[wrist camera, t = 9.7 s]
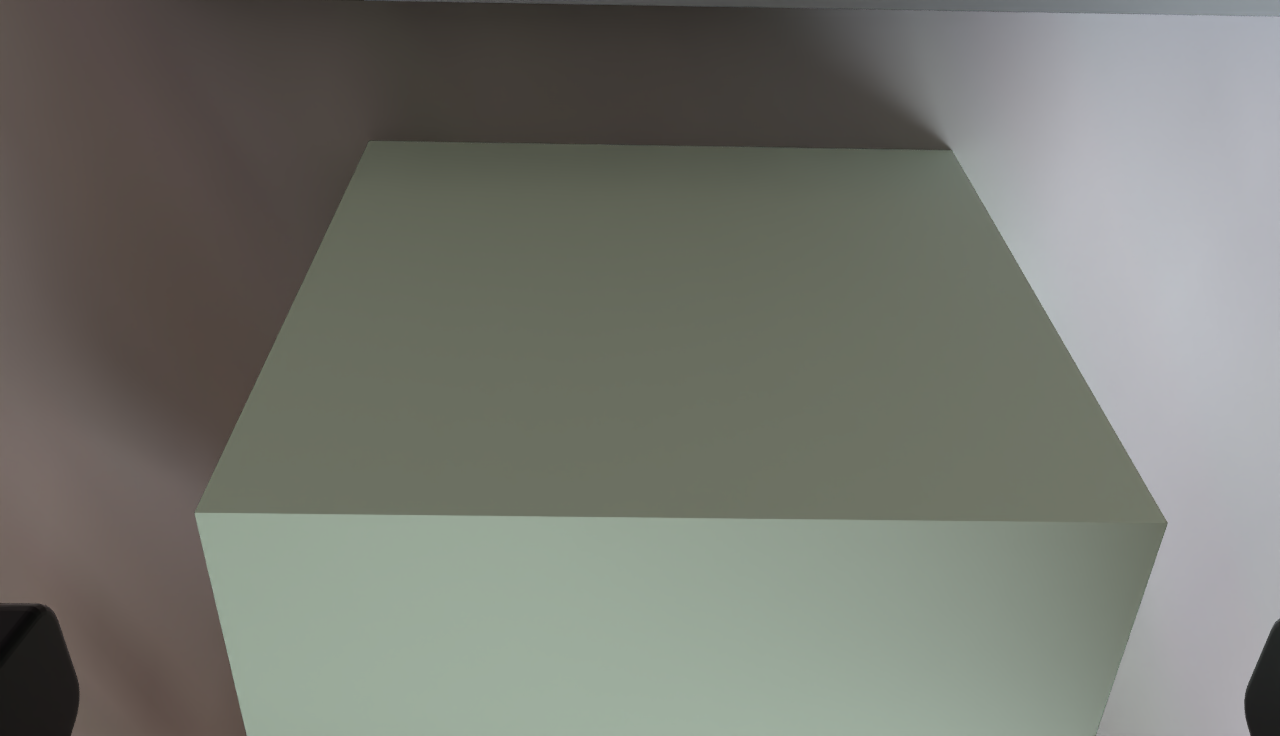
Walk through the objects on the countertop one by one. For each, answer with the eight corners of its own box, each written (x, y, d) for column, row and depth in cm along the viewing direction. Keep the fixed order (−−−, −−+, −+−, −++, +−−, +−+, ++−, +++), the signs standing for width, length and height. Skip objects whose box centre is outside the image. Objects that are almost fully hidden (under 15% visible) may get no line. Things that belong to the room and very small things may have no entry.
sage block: (875, 575, 13) (991, 1038, 9) (417, 571, 13) (316, 1037, 9) (950, 146, 10) (1168, 522, 6) (369, 137, 10) (192, 513, 6)
